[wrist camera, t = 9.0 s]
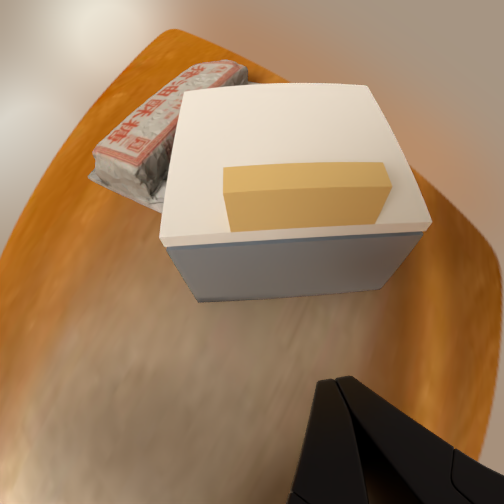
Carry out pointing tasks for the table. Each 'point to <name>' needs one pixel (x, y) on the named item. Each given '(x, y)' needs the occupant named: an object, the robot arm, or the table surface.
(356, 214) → the lid
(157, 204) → the packaged product
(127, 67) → the table surface
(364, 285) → the storage box
